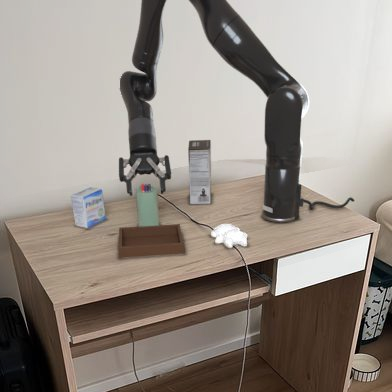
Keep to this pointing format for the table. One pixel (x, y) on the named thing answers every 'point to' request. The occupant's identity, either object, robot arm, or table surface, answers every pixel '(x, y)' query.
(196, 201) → the coffee box
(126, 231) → the tray
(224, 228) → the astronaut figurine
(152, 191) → the pen pot
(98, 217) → the medicine box
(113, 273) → the table surface
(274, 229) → the table surface
